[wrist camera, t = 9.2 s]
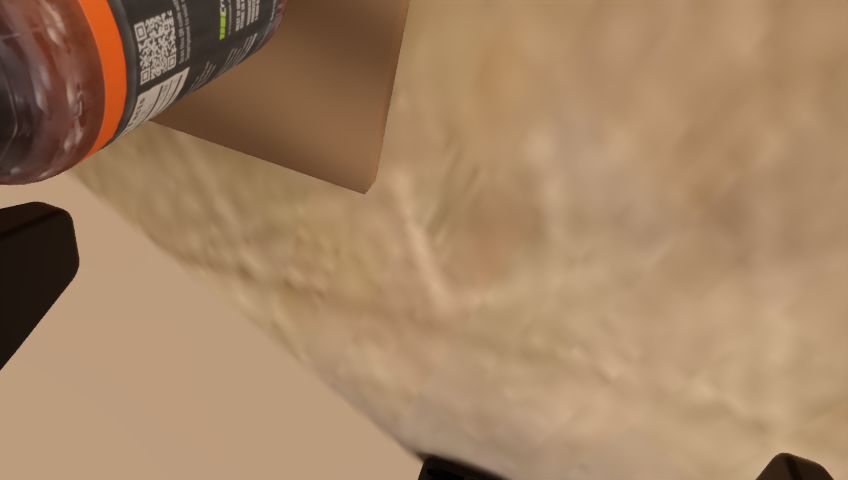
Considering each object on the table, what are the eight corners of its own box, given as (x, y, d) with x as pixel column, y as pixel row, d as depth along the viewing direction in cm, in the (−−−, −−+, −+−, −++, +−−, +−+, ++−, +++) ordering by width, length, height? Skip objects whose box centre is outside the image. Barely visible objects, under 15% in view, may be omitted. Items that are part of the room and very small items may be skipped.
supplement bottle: (74, -113, 18) (-484, -48, 9) (234, -206, 16) (-312, -241, 7) (180, 82, 21) (-177, 284, 12) (332, 28, 19) (29, 229, 9)
